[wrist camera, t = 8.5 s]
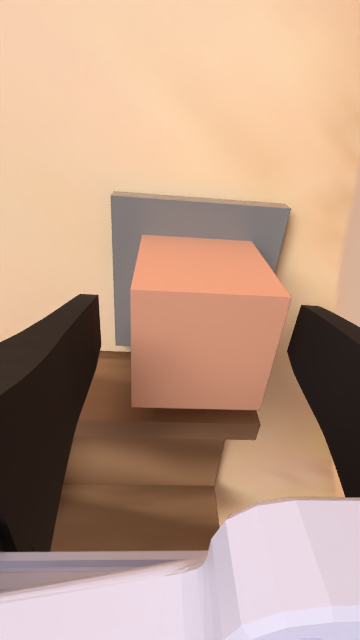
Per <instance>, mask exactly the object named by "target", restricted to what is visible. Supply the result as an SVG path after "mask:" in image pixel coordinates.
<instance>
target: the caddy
mask: <svg viewBox="0 0 360 640" xmlns="http://www.w3.org/2000/svg"><path fill="white" fill-rule="evenodd" d="M259 427H260V421H259V418H258V415H257V412H256V410H228V409H185V408H143V407H131V352H111V351H100V353H99V358H98V363H97V368H96V371H95V374H94V377H93V379H92V382H91V385H90V388H89V391H88V394H87V397H86V400H85V402H84V405H83V408H82V411H81V414H80V417H79V420H78V423H77V426H76V430H75V433H74V438H73V442H72V446H71V451H70V455H69V459H68V464H67V469H66V473H65V478H64V483H63V487H62V492H61V497H60V503H59V508H58V513H57V518H56V523H55V528H54V534H53V539H52V545H51V550H50V552H85V551H208V550H209V546H210V542H211V539H212V537H213V536H214V535H215V533H216V532H217V531H218V529H219V528H220V527H219V519H218V512H217V504H216V496H215V489H214V484H215V480H216V475H217V471H218V466H219V462H220V457H221V453H222V449H223V444H224V440H225V439H234V440H256V437H257V434H258V431H259Z"/></svg>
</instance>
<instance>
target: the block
mask: <svg viewBox="0 0 360 640" xmlns="http://www.w3.org/2000/svg"><path fill="white" fill-rule="evenodd" d="M290 301H291V296H290V294H289V293H288V292H287V290H286V289H285V287H284V286H283V285H282V283H281V282H280V280H279V279H278V278H277V276H276V275H275V273H274V272H273V271H272V269H271V268H270V266H269V265H268V263H267V262H266V261H265V259H264V258H263V256H262V255H261V254H260V252H259V251H258V249H257V248H256V247H255V245H254V244H253V242H252V241H241V240H224V239H207V238H190V237H174V236H157V235H142V238H141V242H140V247H139V251H138V256H137V261H136V265H135V270H134V275H133V279H132V284H131V289H130V307H131V407H143V408H185V409H228V410H260V407H261V404H262V400H263V397H264V393H265V389H266V386H267V382H268V379H269V375H270V372H271V368H272V365H273V361H274V358H275V354H276V351H277V347H278V343H279V340H280V336H281V333H282V329H283V326H284V322H285V319H286V315H287V312H288V308H289V304H290Z"/></svg>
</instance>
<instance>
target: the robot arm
mask: <svg viewBox="0 0 360 640" xmlns="http://www.w3.org/2000/svg"><path fill="white" fill-rule="evenodd" d="M100 347H101V332H100V316H99V299H98V295H89V294H80V295H78V296H76V297H75V298H73V299H72V300H70V301H69V302H67V303H66V304H64V305H63V306H61V307H60V308H59V309H57V310H56V311H54V312H53V313H51V314H50V315H48V316H47V317H45V318H43V319H42V320H40V321H38V322H37V323H35V324H33V325H32V326H30V327H29V328H27V329H25V330H24V331H22V332H20V333H18V334H16V335H14V336H12V337H10V338H8V339H6V340H4V341H2V342H0V640H360V327H358V326H356V325H355V324H353V323H351V322H349V321H347V320H345V319H344V318H342V317H340V316H338V315H336V314H334V313H332V312H330V311H328V310H326V309H324V308H322V307H319V306H308V305H301V308H300V311H299V314H298V317H297V321H296V324H295V327H294V330H293V334H292V337H291V340H290V343H289V347H288V350H287V352H288V356H289V359H290V363H291V366H292V369H293V372H294V375H295V377H296V379H297V381H298V383H299V385H300V387H301V389H302V391H303V393H304V395H305V397H306V399H307V401H308V403H309V405H310V407H311V409H312V411H313V413H314V415H315V417H316V419H317V421H318V423H319V425H320V427H321V430H322V432H323V434H324V436H325V439H326V442H327V445H328V447H329V450H330V453H331V455H332V458H333V461H334V464H335V467H336V470H337V473H338V476H339V478H340V482H341V485H342V488H343V491H344V494H345V498H340V497H339V498H338V497H289V498H282V499H275V500H268V501H261V502H256V503H254V504H252V505H250V506H248V507H246V508H243V509H241V510H239V511H237V512H235V513H233V514H231V515H229V517H228V518H227V519H226V520H225V522H224V523H223V524H222V526H221V527H220V528H219V529H218V531H217V532H216V533H215V535H214V536H213V537H212V539H211V542H210V546H209V550H208V551H85V552H50V550H51V545H52V539H53V534H54V528H55V523H56V518H57V513H58V508H59V503H60V497H61V492H62V487H63V483H64V478H65V473H66V469H67V464H68V459H69V455H70V451H71V446H72V442H73V438H74V433H75V430H76V426H77V423H78V420H79V417H80V414H81V411H82V408H83V405H84V402H85V400H86V397H87V394H88V391H89V388H90V385H91V382H92V379H93V377H94V374H95V371H96V368H97V363H98V358H99V353H100Z"/></svg>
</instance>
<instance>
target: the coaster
mask: <svg viewBox="0 0 360 640" xmlns="http://www.w3.org/2000/svg"><path fill="white" fill-rule="evenodd" d="M290 210H291V208H289V207H288V206H287V205H285V204H277V203H263V202H250V201H236V200H222V199H209V198H195V197H182V196H168V195H155V194H141V193H128V192H113V193H112V194H111V218H112V248H113V278H114V309H115V339H116V345H118V346H131V307H130V289H131V284H132V279H133V275H134V270H135V265H136V261H137V256H138V251H139V247H140V242H141V238H142V235H157V236H174V237H190V238H207V239H224V240H241V241H252V242H253V244H254V245H255V247H256V248H257V249H258V251H259V252H260V254H261V255H262V256H263V258H264V259H265V261H266V262H267V263H268V265H269V266H270V268H271V269H272V271H273V272H274V273H275V270H276V266H277V262H278V258H279V254H280V250H281V246H282V242H283V238H284V234H285V230H286V226H287V222H288V218H289V214H290Z"/></svg>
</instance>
